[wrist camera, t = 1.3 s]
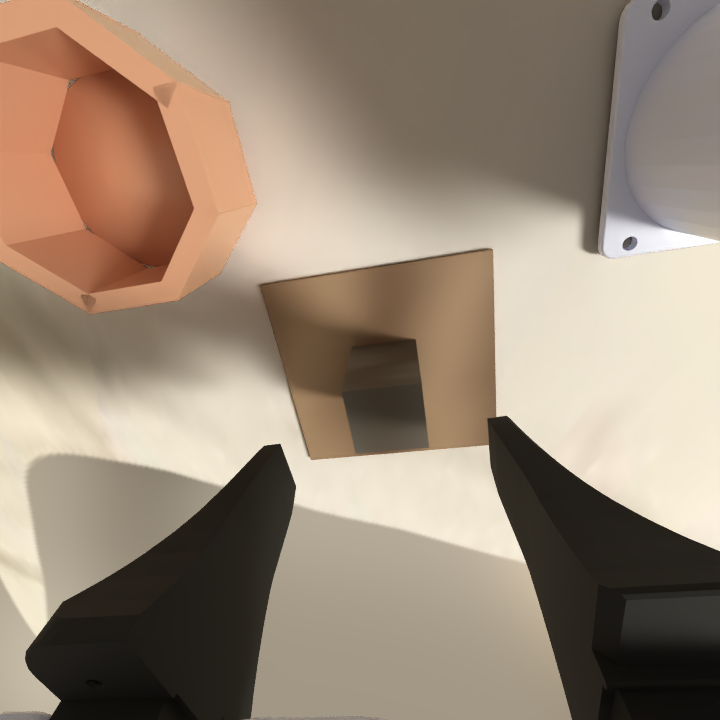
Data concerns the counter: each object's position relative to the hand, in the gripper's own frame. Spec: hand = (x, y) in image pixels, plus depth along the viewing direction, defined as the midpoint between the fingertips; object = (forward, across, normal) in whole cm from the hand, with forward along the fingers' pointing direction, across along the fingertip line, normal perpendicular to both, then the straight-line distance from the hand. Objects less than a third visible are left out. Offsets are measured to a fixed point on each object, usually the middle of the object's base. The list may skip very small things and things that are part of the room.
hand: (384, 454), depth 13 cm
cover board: (+7, 0, 0) cm, 7 cm away
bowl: (+6, +8, -10) cm, 14 cm away
